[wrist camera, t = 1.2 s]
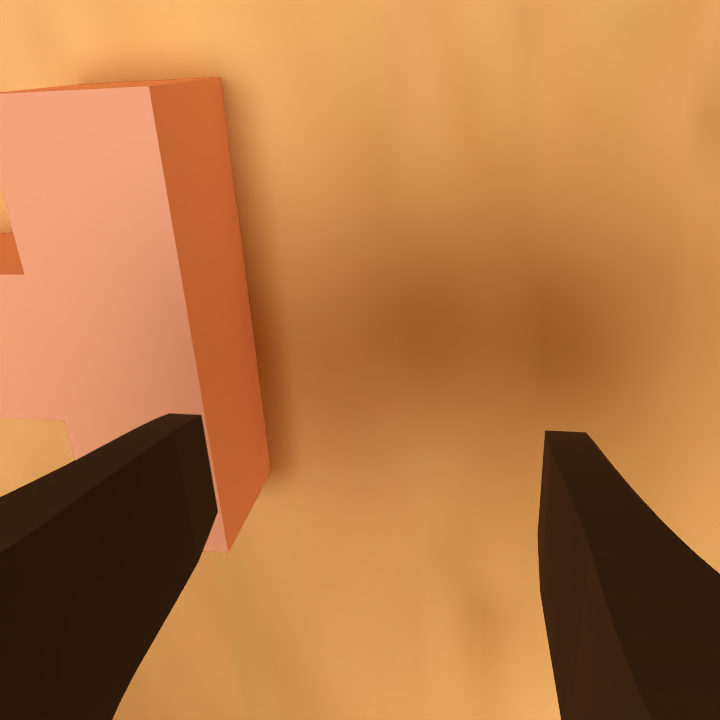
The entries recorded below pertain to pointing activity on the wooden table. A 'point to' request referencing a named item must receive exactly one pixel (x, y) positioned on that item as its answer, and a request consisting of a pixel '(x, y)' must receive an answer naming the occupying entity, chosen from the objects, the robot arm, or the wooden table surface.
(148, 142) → the t block
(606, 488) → the robot arm
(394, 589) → the wooden table surface
